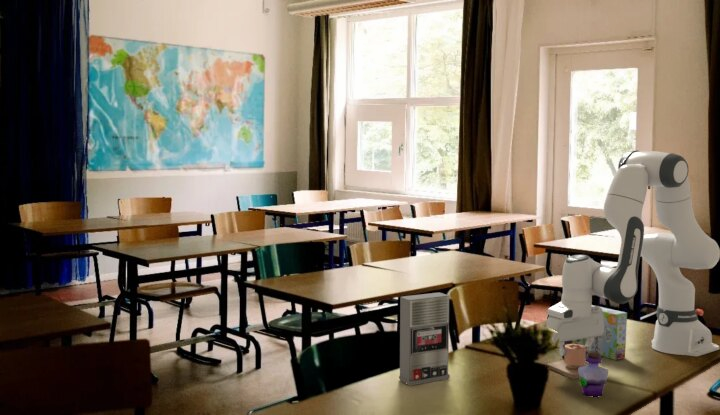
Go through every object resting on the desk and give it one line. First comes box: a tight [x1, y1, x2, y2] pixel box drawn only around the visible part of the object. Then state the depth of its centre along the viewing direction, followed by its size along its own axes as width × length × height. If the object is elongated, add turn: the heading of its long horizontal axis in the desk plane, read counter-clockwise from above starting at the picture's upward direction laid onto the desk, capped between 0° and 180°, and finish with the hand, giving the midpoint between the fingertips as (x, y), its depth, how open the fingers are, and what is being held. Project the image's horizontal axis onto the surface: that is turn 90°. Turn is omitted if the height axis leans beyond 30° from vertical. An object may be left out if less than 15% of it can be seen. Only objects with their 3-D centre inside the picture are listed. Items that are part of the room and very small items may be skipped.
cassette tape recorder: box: [398, 292, 451, 386], centre depth 223 cm, size 14×6×25 cm, turn 117°
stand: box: [545, 347, 588, 380], centre depth 234 cm, size 12×12×7 cm
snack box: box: [574, 304, 628, 361], centre depth 254 cm, size 21×6×15 cm, turn 35°
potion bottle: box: [578, 351, 609, 398], centre depth 212 cm, size 9×9×12 cm
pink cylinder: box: [563, 344, 586, 366], centre depth 233 cm, size 6×6×5 cm
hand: (574, 353), depth 233 cm, fingers open, 8 cm apart
